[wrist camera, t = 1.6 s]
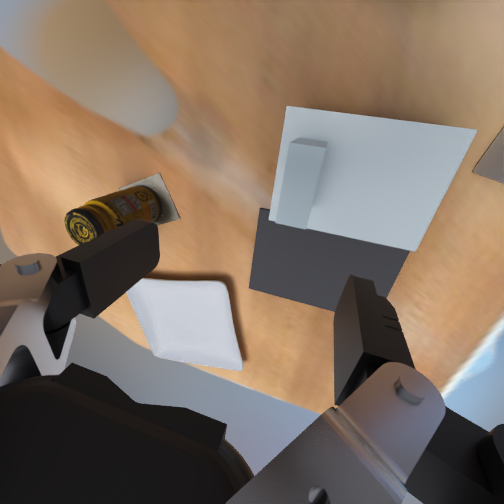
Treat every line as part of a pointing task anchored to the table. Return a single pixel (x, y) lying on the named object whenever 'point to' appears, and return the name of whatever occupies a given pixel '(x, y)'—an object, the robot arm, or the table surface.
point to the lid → (364, 174)
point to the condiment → (122, 209)
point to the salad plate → (187, 321)
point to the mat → (317, 263)
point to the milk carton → (493, 160)
